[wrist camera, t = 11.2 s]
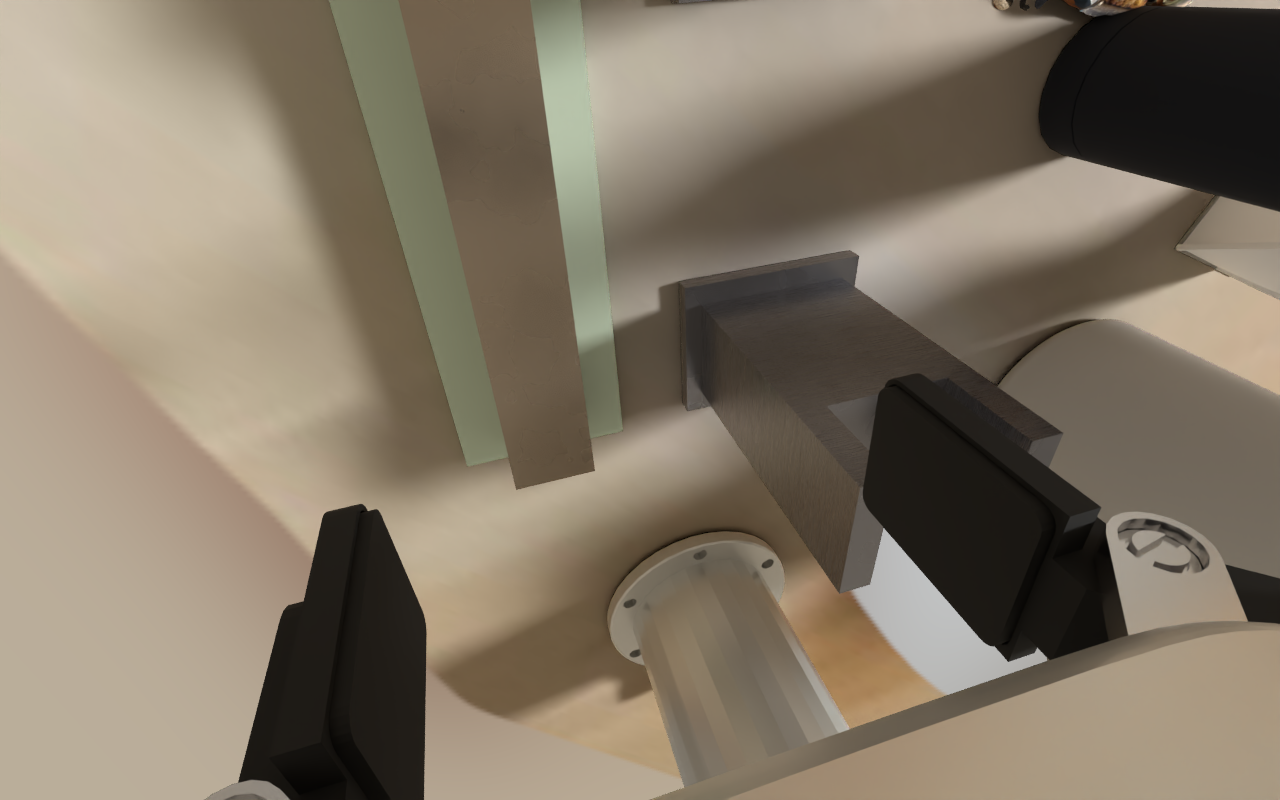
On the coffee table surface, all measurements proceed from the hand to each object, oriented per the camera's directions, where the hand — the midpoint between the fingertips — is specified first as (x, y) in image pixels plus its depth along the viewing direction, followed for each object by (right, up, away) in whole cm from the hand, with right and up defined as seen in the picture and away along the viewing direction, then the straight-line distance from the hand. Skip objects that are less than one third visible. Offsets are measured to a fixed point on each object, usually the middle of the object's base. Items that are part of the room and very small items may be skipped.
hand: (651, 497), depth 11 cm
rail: (-6, +10, +12) cm, 17 cm away
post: (+6, +5, +20) cm, 22 cm away
